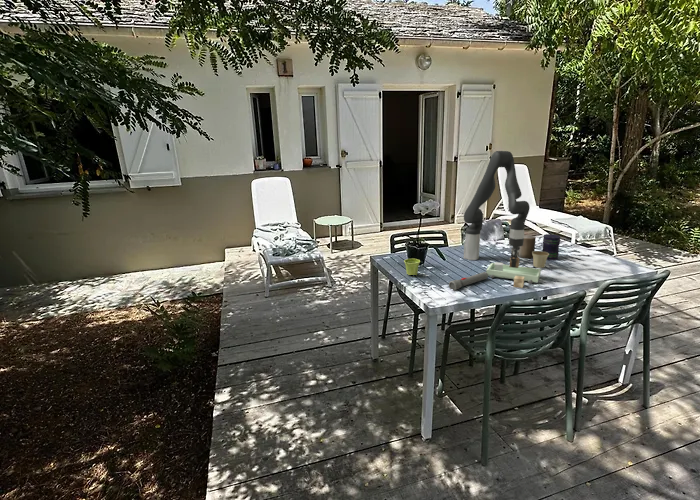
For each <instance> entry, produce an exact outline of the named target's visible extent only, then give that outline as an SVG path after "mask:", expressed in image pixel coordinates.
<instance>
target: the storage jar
mask: <svg viewBox="0 0 700 500" xmlns="http://www.w3.org/2000/svg"><path fill="white" fill-rule="evenodd" d="M560 244H561V235H559V234H554V233H553V234H552V233H549V234H547V233H546V234H543V239H542V250H541V251H543V252H547V253H549V255H548V257H547V260H548V261H557V260H558V259H559V254H560V253H559V252H560V251H559V247H560ZM547 260H546V261H547Z"/></svg>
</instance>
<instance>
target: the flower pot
mask: <svg viewBox="0 0 700 500" xmlns="http://www.w3.org/2000/svg"><path fill="white" fill-rule="evenodd" d="M532 254H533V258H532V261H533V267H535V268H536V269H542V268H545V267H546V264H547V257H548V255H549V253H547V252H543V251H542V250H534V252H532Z"/></svg>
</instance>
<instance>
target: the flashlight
mask: <svg viewBox="0 0 700 500" xmlns="http://www.w3.org/2000/svg"><path fill="white" fill-rule="evenodd" d="M488 278H489V276H488V274H487V273H486V271H483V272H480V273H477V274H473V275H471V276H467V277H461V278H460V279H455V280H454V279H453V280H451V281H449V282H448V288H449V289H450V290H451V289H453V290H452V291H457V290H459V289H460V288H462V287H466V286H469V285H471V284H475V283H478V282H480V281H481V282H482V281H484V280H487V279H488Z"/></svg>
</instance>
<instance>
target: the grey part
mask: <svg viewBox="0 0 700 500" xmlns="http://www.w3.org/2000/svg"><path fill="white" fill-rule="evenodd" d="M494 263H495V270H497V271H503V264H504V262H496V261H495V262H494Z"/></svg>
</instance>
